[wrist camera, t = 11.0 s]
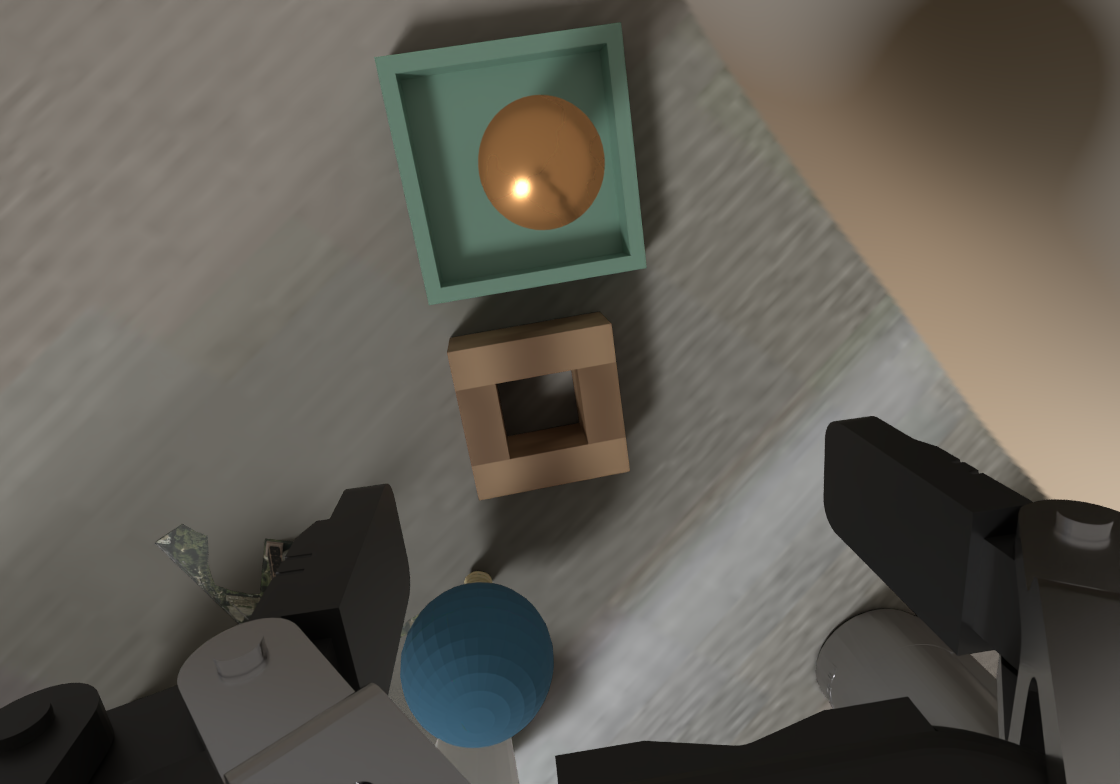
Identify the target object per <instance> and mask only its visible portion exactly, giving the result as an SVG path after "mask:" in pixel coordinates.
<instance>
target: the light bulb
mask: <svg viewBox="0 0 1120 784" xmlns="http://www.w3.org/2000/svg"><path fill="white" fill-rule="evenodd" d="M553 668H554V660H553V645H552V642H551V638H550V635H549V632H548V629H547V626H546V624H545V622H544V620H543V619H542V617H541V616H540V614H539V613H538V611H537V610H536V608H535V607H534V606H533V605H532V604H531V603H530V602H529V601H528V600H527V599H526V598H524V597H523V596H521V595H520V594H518V593H517V592H515V591H514V590H512V589H510V588H507V587H505V586H502V585H499V584H494V583H492V579H491V577H490V576H489V574H487V573H486V572H480V571H475V572H472V573H470V574H469V575H468V576H467V577H466V578H465V581H464V584H463V585H460V586H456V587H454V588H452V589H450V590H448V591H446V592H444V593H442V594H441V595H439V596H438V597H436V598H435V599H434V600H432V601H431V602H430V603H428V605H427V606H426V607H425V608H424V609H423V610H422V611H421V612H420V614H419V615H418V616H417V618H416V619H415V621H414V623H413V624H412V626H411V628H410V630H409V631H408V634H407V637H406V641H405V644H404V647H403V650H402V654H401V673H400V677H401V683H402V688H403V692H404V696H405V699H406V701H407V704H408V706H409V708H410V710H411V712H412V713H413V715H414V716H415V718H416V719H417V720H418V722H419V723H420V724H421V725H422V727H423V728H425V729H426V730H427V731H428V732H429V733H431V734H432V735H434V736H435V737H437V738H438V739H440V740H442V741H444V742H446V743H448V744H451V745H454V746H458V747H465V748H481V747H488V746H492V745H495V744H498V743H501V742H503V741H505V740H507V739H509V738H511V737H512V736H514V735H515V734H517V733H518V732H519V731H521V730H522V729H523V728H524V727H525V726H526V725H527V724H528V723H529V722H530V721H531V720H532V719H533V718H534V717H535V715H536V714H537V712H538V711H539V709H540V708H541V706H542V704H543V703H544V701H545V699H546V696H547V694H548V691H549V688H550V684H551V680H552V675H553Z"/></svg>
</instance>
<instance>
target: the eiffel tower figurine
mask: <svg viewBox="0 0 1120 784" xmlns="http://www.w3.org/2000/svg"><path fill="white" fill-rule="evenodd" d="M292 543H293V542H290V541H281V540H273V539H265V545H264V556H263V567H262V578H261V589H260V594H246V593H241V592H235V591H231V590H228V589H225V588H222V587H218V586H216V585H215V584H214V581H213V579H212V576H211V573H210V569H209V566H208V537H207V536H206V535H204V534H201V533H198V532H196V531H194V530H192V529H190V528H189V527H187V526H186V525H184V524H182V525H180V526H179V527H177V528H176V529H174V530H173V531H172V532H170V533H169V534H167V535H166V536H164V537H163V538H161V539H160V540H159V541H157V542H156V543H155V544H156V545H157V546H158V547H159V548H160V549H161V550H162V551H163V552H164V553H165V554H166V555H167V556H168V557H169V558H170V559H171V560H172V561H173V562H174V563H175V564H177V565H178V566H179V567H180V568H181V569H182V570H183V571H184V572H185V573H186V574H187V575H188V576H189V577H190V578H191V579H192V580H194V581H195V582H196V583H197V584H198V585H199V586H200V587H201V588H202V589H203V590H204V591H205V592H206V593H207V594H208V595H209V596H210V597H211V598H212V599H213V600H214V601H215V602H216V603H217V604H218V605H219V606H220V607H221V608H222V609H224V610H225V611H226V612H227V613H228V614H229V615H230V616H231V617H232V618H233V619H234V620H235V621H236V622H237V623H238V624H239V625H240V624H242V623H245V622H247V621H248V620H249V618H250V616H251V615H252V613H253V611H254V609H255V608H256V606H257V604H258V602H259V601H260V599H261V597H262V595H263V594H264V592H265V590H266V589H267V587H268V585H269V583H270V582H271V580H272V578H273V577H276V571H277V569H278V568H279V566H280V564H281V563H282V561H285V556H286V554H287V552H288V550H289V549H290V547H291V545H292ZM418 615H419V614H418ZM418 615H417V616H418ZM417 616H415V617H413V618H412V619H410V620H408V622H407V623H406V624H405V625H404V626H403V628H402V632H401V637H402V636H404V635H406V634H407V633H408V631H409V630H410V628H411V626H412V624H413V623H414V621H415V619H416V618H417ZM401 637H400V638H401Z"/></svg>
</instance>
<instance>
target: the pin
mask: <svg viewBox="0 0 1120 784" xmlns="http://www.w3.org/2000/svg"><path fill="white" fill-rule="evenodd" d="M478 169H479V176H480V180H481V184H482V187H483V189H484V192H485V194H486V195H487V197H488V199H489V200H490V202H491V203H492V205H493V206H494V207H495V208H496V209H497V210H498V212H499V213H501V214H502V215H503V216H504V217H505V218H507V219H508V220H510V221H511V222H513V223H515V224H517V225H519V226H522V227H525V228H528V229H534V230H551V229H556V228H560V227H563V226H565V225H568V224H569V223H571V222H573V221H575V220H576V219H578V218H579V217H580V216H581V215H583V214H584V213H585V212H586V211H587V210H588V208H589V207H590V206H591V205H592V203H593V202H594V200H595V198H596V197H597V195H598V193H599V190H600V188H601V185H602V182H603V177H604V170H605V157H604V150H603V145H602V142H601V139H600V136H599V134H598V132H597V130H596V128H595V126H594V125H593V123H592V122H591V120H590V119H589V118H588V117H587V115H586V114H585V113H583V112H582V111H581V110H580V109H579V108H578V107H576V106H575V105H574V104H572V103H570V102H568V101H566V100H564V99H561V98H558V97H554V96H550V95H531V96H527V97H523V98H520V99H518V100H515V101H513V102H512V103H510V104H508V105H507V106H505V107H504V108H503V109H501V110H500V111H499V112H498V113H497V114H496V115H495V116H494V118H493V119H492V120H491V122H490V123H489V125H488V126H487V128H486V130H485V132H484V135H483V137H482V140H481V144H480V147H479V154H478Z"/></svg>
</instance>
